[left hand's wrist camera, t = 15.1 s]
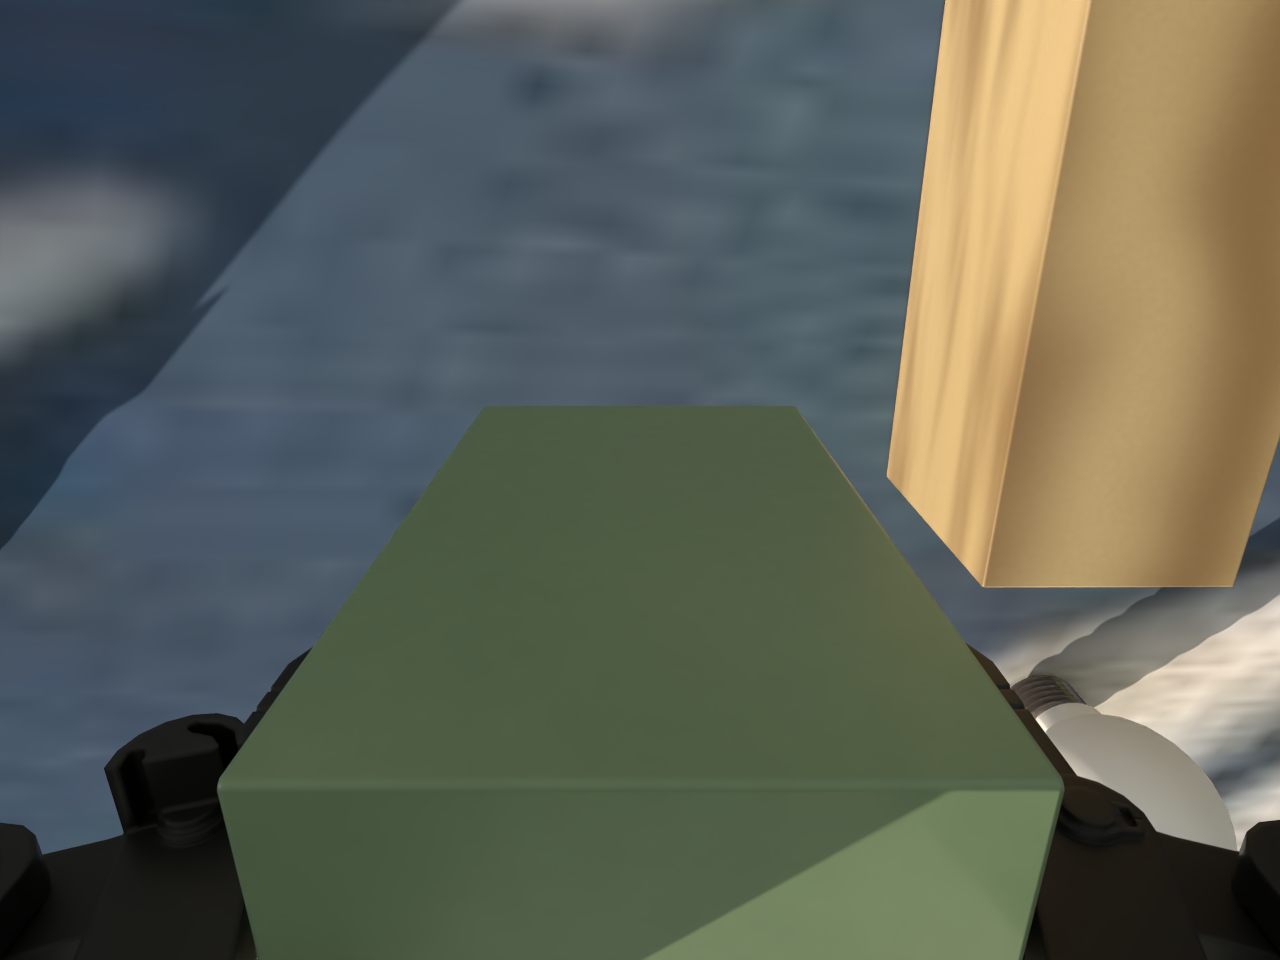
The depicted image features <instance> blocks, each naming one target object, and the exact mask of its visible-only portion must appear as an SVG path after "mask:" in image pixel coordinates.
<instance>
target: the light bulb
mask: <svg viewBox="0 0 1280 960" xmlns="http://www.w3.org/2000/svg"><path fill="white" fill-rule="evenodd" d="M1010 690H1014V691H1015V693H1016V694H1017V695H1018V697H1019V698H1020V699H1021V701H1022V702H1023V703H1024V708H1025V709H1028V710H1029V711H1030V713H1031V714H1032V715H1033V717H1034V718H1035V719H1036V721H1037V722H1038V723H1039V725H1040V726H1041V727H1042V729H1043V730H1044V731H1045V733H1046V734H1047V736H1048V737H1049V738H1050V740H1051V741H1052V742H1053V744H1054V745H1055V746H1056V748H1057V749H1058V750H1059V752H1060V753H1061V754H1062V756H1063V757H1064V758H1065V760H1066V761H1067V762H1068V764H1069V765H1070V766H1071V768H1072V769H1073V770H1074V772H1075V773H1076V774H1077V776H1080V777H1083V778H1087V779H1090V780H1093V781H1096V782H1099V783H1101V784H1103V785H1105V786H1107V787H1109V788H1111V789H1112V790H1114V791H1116V792H1118V793H1120V794H1122V795H1124V796H1125V797H1126V798H1127V799H1128V800H1130V801H1131V802H1132V803H1133V804H1134V805H1135V806H1137V807H1138V808H1139V809H1140V810H1141V811H1143V812H1144V813H1145V815H1146V816H1147V818H1148V819H1149V821H1150V823H1151V824H1152V826H1153V827H1154V829H1155V830H1156V831H1157V832H1161V833H1164V834H1167V835H1171V836H1174V837H1178V838H1182V839H1186V840H1191V841H1195V842H1199V843H1204V844H1208V845H1212V846H1217V847H1221V848H1225V849H1229V850H1234V851H1237V845H1236V836H1235V832H1234V828H1233V825H1232V822H1231V819H1230V816H1229V813H1228V810H1227V808H1226V806H1225V805H1224V803H1223V801H1222V799H1221V798H1220V796H1219V794H1218V792H1217V790H1216V789H1215V787H1214V785H1213V783H1212V782H1211V781H1210V779H1209V778H1208V777H1207V776H1206V774H1205V773H1204V772H1203V771H1202V770H1201V768H1200V767H1199V766H1198V765H1197V764H1196V763H1195V762H1194V761H1193V760H1192V759H1191V758H1190V757H1189V756H1188V755H1187V754H1186V753H1184V752H1183V751H1182V750H1181V749H1180V748H1179V747H1178V746H1176V745H1175V744H1174V743H1173V742H1171V741H1169V740H1168V739H1166V738H1164V737H1163V736H1161V735H1160V734H1158V733H1156V732H1155V731H1153V730H1151V729H1150V728H1148V727H1146V726H1143V725H1141V724H1138V723H1136V722H1133V721H1130V720H1127V719H1124V718H1121V717H1116V716H1110V715H1103V714H1101V713H1100V712H1099V711H1097V710H1096V709H1095V708H1093V707H1091V706H1089V705H1087V704H1086V703H1085V702H1084V701H1083V700H1082V698H1081V697H1080V696H1079V695H1078V694H1077V693H1076V692H1075V691H1074V689H1073V688H1072V687H1071V686H1070V685H1069V684H1068V683H1066V682H1065V681H1063V680H1061V679H1059V678H1056V677H1052V676H1034V677H1030V678H1027V679H1024V680H1022V681H1020V682H1018V683H1016V684H1015V685H1014V686H1012V687H1011V688H1010Z"/></svg>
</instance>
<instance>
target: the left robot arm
mask: <svg viewBox="0 0 1280 960" xmlns="http://www.w3.org/2000/svg"><path fill="white" fill-rule="evenodd" d="M966 645H967V646H968V648H969V649H970V650H971V652H972V653H973V655H974V656H975V657H976V659H977V660H978V662H979V663H980V664H981V666H982V667H983V668H984V670H985V671H986V673H987V674H988V675H989V677H990V678H991V680H992V681H993V682H994V684H995V685H996V687H997V688H998V689H999V691H1000V692H1001V694H1002V695H1003V696H1004V698H1005V699H1006V701H1007V702H1008V703H1009V705H1010V706H1011V708H1012V709H1013V710H1014V712H1015V713H1016V715H1017V716H1018V717H1019V719H1020V720H1021V721H1022V723H1023V724H1024V726H1025V727H1026V728H1027V730H1028V731H1029V733H1030V734H1031V735H1032V737H1033V738H1034V740H1035V741H1036V742H1037V744H1038V745H1039V747H1040V748H1041V749H1042V751H1043V752H1044V754H1045V755H1046V756H1047V758H1048V759H1049V761H1050V762H1051V763H1052V765H1053V766H1054V768H1055V769H1056V770H1057V772H1058V773H1059V774H1060V776H1061V777H1062V780H1063V783H1064V789H1065V791H1064V795H1063V799H1062V803H1061V807H1060V811H1059V815H1058V819H1057V823H1056V827H1055V831H1054V835H1053V839H1052V843H1051V847H1050V851H1049V855H1048V859H1047V863H1046V867H1045V871H1044V876H1043V880H1042V884H1041V888H1040V892H1039V896H1038V900H1037V904H1036V908H1035V912H1034V916H1033V920H1032V924H1031V928H1030V932H1029V936H1028V940H1027V944H1026V948H1025V952H1024V956H1023V960H1280V820H1275V821H1266V822H1259V823H1257V824H1256V825H1255V826H1254V827H1252V828H1251V829H1250V830H1248V831H1247V832H1246V835H1245V838H1244V841H1243V843H1242V846H1241V849H1240V851H1239V852H1238V851H1234V850H1229V849H1225V848H1221V847H1217V846H1212V845H1208V844H1204V843H1199V842H1195V841H1191V840H1186V839H1182V838H1178V837H1174V836H1171V835H1167V834H1164V833H1161V832H1157V831H1156V830H1155V829H1154V827H1153V826H1152V824H1151V823H1150V821H1149V819H1148V818H1147V816H1146V815H1145V813H1144V812H1143V811H1141V810H1140V809H1139V808H1138V807H1137V806H1135V805H1134V804H1133V803H1132V802H1131V801H1130V800H1128V799H1127V798H1126V797H1125V796H1124V795H1122V794H1120V793H1118V792H1116V791H1114V790H1112V789H1111V788H1109V787H1107V786H1105V785H1103V784H1101V783H1099V782H1096V781H1093V780H1090V779H1087V778H1083V777H1080V776H1077V774H1076V773H1075V772H1074V770H1073V769H1072V768H1071V766H1070V765H1069V764H1068V762H1067V761H1066V760H1065V758H1064V757H1063V756H1062V754H1061V753H1060V752H1059V750H1058V749H1057V748H1056V746H1055V745H1054V744H1053V742H1052V741H1051V740H1050V738H1049V737H1048V736H1047V734H1046V733H1045V731H1044V730H1043V729H1042V727H1041V726H1040V725H1039V723H1038V722H1037V721H1036V719H1035V718H1034V717H1033V715H1032V714H1031V713H1030V711H1029V710H1028V709H1025V708H1024V703H1023V702H1022V701H1021V699H1020V698H1019V697H1018V695H1017V694H1016V693H1015V691H1014V690H1010V684H1009V683H1008V682H1007V680H1006V679H1005V678H1004V676H1003V675H1002V674H1001V672H1000V671H999V670H998V668H997V667H996V666H995V664H994V663H993V662H992V661H991V660H989V659H988V658H987V657H985V656H984V655H982V654H981V653H979V652H978V651H977V650H975V649H974V648H972V647H971V646H969V645H968V644H966ZM312 648H313V647H312ZM312 648H311V649H312ZM311 649H309V650H308V651H306V652H305V653H304V654H302V655H301V656H299V657H298V658H296V659H295V660H294V661H292V662H291V663H289V664H288V665H287V667H286V668H285V669H284V671H283V672H282V673H281V675H280V676H279V678H278V679H277V680H276V682H275V683H274V684H273V686H272V687H271V692H267V694H266V695H265V696H264V698H263V699H262V701H261V702H260V703H259V705H258V706H257V711H256V712H253V713H252V714H251V715H250V717H249V718H248V719H247V721H246V722H245V724H244V723H242V722H241V721H240V720H239V719H238V718H236V717H232V716H227V715H223V714H218V713H214V714H199V715H191V716H187V717H183V718H180V719H176V720H172V721H168V722H165V723H163V724H161V725H159V726H157V727H154V728H152V729H150V730H148V731H146V732H144V733H142V734H140V735H138V736H137V737H135V738H134V739H133V740H131V741H130V742H129V743H127V744H126V745H125V746H123V747H122V748H121V749H119V750H118V751H117V752H116V753H115V755H114V756H113V757H112V759H111V760H110V761H109V762H108V764H107V765H106V766H105V768H104V770H105V773H106V776H107V780H108V783H109V786H110V789H111V792H112V796H113V799H114V802H115V805H116V809H117V812H118V815H119V818H120V821H121V825H122V828H123V831H124V833H123V835H121V836H117V837H114V838H111V839H107V840H103V841H99V842H95V843H91V844H86V845H82V846H78V847H73V848H69V849H65V850H61V851H56V852H52V853H48V854H44V855H42V852H41V850H40V847H39V844H38V841H37V839H36V836H35V835H34V834H33V833H32V832H31V831H29V830H28V829H27V828H26V827H24V826H23V825H15V824H6V823H0V960H259V958H258V954H257V950H256V946H255V942H254V938H253V934H252V930H251V926H250V922H249V918H248V914H247V910H246V906H245V902H244V898H243V894H242V890H241V886H240V882H239V878H238V874H237V869H236V865H235V861H234V857H233V853H232V849H231V845H230V841H229V837H228V833H227V829H226V825H225V821H224V817H223V813H222V809H221V805H220V801H219V797H218V793H217V786H218V782H219V778H220V777H221V775H222V774H223V773H224V771H225V770H226V768H227V767H228V765H229V764H230V763H231V761H232V760H233V758H234V757H235V756H236V754H237V753H238V751H239V750H240V749H241V747H242V746H243V744H244V743H245V742H246V740H247V739H248V737H249V736H250V735H251V733H252V732H253V730H254V729H255V728H256V726H257V725H258V723H259V722H260V721H261V719H262V718H263V716H264V715H265V714H266V712H267V711H268V709H269V708H270V707H271V705H272V704H273V702H274V701H275V700H276V698H277V697H278V695H279V694H280V693H281V691H282V690H283V688H284V687H285V686H286V684H287V683H288V681H289V680H290V679H291V677H292V676H293V674H294V673H295V672H296V670H297V669H298V667H299V666H300V665H301V663H302V662H303V660H304V659H305V658H306V656H307V655H308V653H309V652H310V651H311Z"/></svg>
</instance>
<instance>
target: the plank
mask: <svg viewBox="0 0 1280 960" xmlns="http://www.w3.org/2000/svg"><path fill="white" fill-rule="evenodd" d="M1279 439H1280V0H946V1H945V9H944V17H943V25H942V33H941V41H940V49H939V58H938V66H937V74H936V82H935V90H934V98H933V106H932V114H931V122H930V131H929V139H928V147H927V155H926V163H925V171H924V179H923V187H922V195H921V203H920V212H919V220H918V228H917V236H916V244H915V252H914V260H913V268H912V276H911V284H910V293H909V301H908V309H907V317H906V325H905V333H904V341H903V349H902V357H901V365H900V374H899V382H898V390H897V398H896V406H895V414H894V422H893V430H892V438H891V447H890V455H889V463H888V471H887V477H888V478H889V479H890V480H891V482H892V483H893V484H894V485H895V486H896V487H897V488H898V490H899V491H900V492H901V493H902V494H903V495H904V497H905V498H906V499H907V500H908V501H909V502H910V503H911V505H912V506H913V507H914V508H915V509H916V510H917V512H918V513H919V514H920V515H921V516H922V517H923V519H924V520H925V521H926V522H927V523H928V524H929V525H930V527H931V528H932V529H933V530H934V531H935V532H936V534H937V535H938V536H939V537H940V538H941V539H942V540H943V542H944V543H945V544H946V545H947V546H948V547H949V549H950V550H951V551H952V552H953V553H954V554H955V555H956V557H957V558H958V559H959V560H960V561H961V562H962V564H963V565H964V566H965V567H966V568H967V569H968V570H969V572H970V573H971V574H972V575H973V576H974V577H975V579H976V580H977V581H978V582H979V583H980V584H981V585H982V586H983V587H1232V586H1233V585H1234V583H1235V580H1236V576H1237V573H1238V570H1239V567H1240V564H1241V561H1242V557H1243V554H1244V551H1245V548H1246V545H1247V541H1248V538H1249V535H1250V532H1251V529H1252V525H1253V522H1254V519H1255V516H1256V513H1257V509H1258V506H1259V503H1260V500H1261V497H1262V494H1263V490H1264V487H1265V484H1266V481H1267V478H1268V474H1269V471H1270V468H1271V465H1272V462H1273V458H1274V455H1275V452H1276V449H1277V446H1278V442H1279Z"/></svg>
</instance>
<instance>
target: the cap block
mask: <svg viewBox="0 0 1280 960" xmlns="http://www.w3.org/2000/svg"><path fill="white" fill-rule="evenodd" d="M1064 791H1065V789H1064V783H1063V780H1062V777H1061V776H1060V774H1059V773H1058V772H1057V770H1056V769H1055V768H1054V766H1053V765H1052V763H1051V762H1050V761H1049V759H1048V758H1047V756H1046V755H1045V754H1044V752H1043V751H1042V749H1041V748H1040V747H1039V745H1038V744H1037V742H1036V741H1035V740H1034V738H1033V737H1032V735H1031V734H1030V733H1029V731H1028V730H1027V728H1026V727H1025V726H1024V724H1023V723H1022V721H1021V720H1020V719H1019V717H1018V716H1017V715H1016V713H1015V712H1014V710H1013V709H1012V708H1011V706H1010V705H1009V703H1008V702H1007V701H1006V699H1005V698H1004V696H1003V695H1002V694H1001V692H1000V691H999V689H998V688H997V687H996V685H995V684H994V682H993V681H992V680H991V678H990V677H989V675H988V674H987V673H986V671H985V670H984V668H983V667H982V666H981V664H980V663H979V662H978V660H977V659H976V657H975V656H974V655H973V653H972V652H971V650H970V649H969V648H968V646H967V645H966V643H965V642H964V641H963V639H962V638H961V636H960V635H959V634H958V632H957V631H956V629H955V628H954V627H953V625H952V624H951V622H950V621H949V620H948V618H947V617H946V615H945V614H944V613H943V611H942V610H941V608H940V607H939V606H938V604H937V603H936V602H935V600H934V599H933V597H932V596H931V595H930V593H929V592H928V590H927V589H926V588H925V586H924V585H923V583H922V582H921V581H920V579H919V578H918V576H917V575H916V574H915V572H914V571H913V569H912V568H911V567H910V565H909V564H908V562H907V561H906V560H905V558H904V557H903V555H902V554H901V553H900V551H899V550H898V549H897V547H896V546H895V544H894V543H893V542H892V540H891V539H890V537H889V536H888V535H887V533H886V532H885V530H884V529H883V528H882V526H881V525H880V523H879V522H878V521H877V519H876V518H875V516H874V515H873V514H872V512H871V511H870V509H869V508H868V507H867V505H866V504H865V502H864V501H863V500H862V498H861V497H860V495H859V494H858V493H857V491H856V490H855V489H854V487H853V486H852V484H851V483H850V482H849V480H848V479H847V477H846V476H845V475H844V473H843V472H842V470H841V469H840V468H839V466H838V465H837V463H836V462H835V461H834V459H833V458H832V456H831V455H830V454H829V452H828V451H827V449H826V448H825V447H824V445H823V444H822V442H821V441H820V440H819V438H818V437H817V436H816V434H815V433H814V431H813V430H812V429H811V427H810V426H809V424H808V423H807V422H806V420H805V419H804V417H803V416H802V415H801V413H800V412H799V410H798V409H797V408H796V407H794V406H486V407H484V408H483V409H482V411H481V412H480V414H479V415H478V416H477V418H476V419H475V421H474V422H473V423H472V425H471V426H470V428H469V429H468V431H467V432H466V433H465V435H464V436H463V438H462V439H461V440H460V442H459V443H458V445H457V446H456V447H455V449H454V450H453V452H452V453H451V454H450V456H449V457H448V459H447V460H446V461H445V463H444V464H443V466H442V467H441V468H440V470H439V471H438V473H437V474H436V475H435V477H434V478H433V480H432V481H431V482H430V484H429V485H428V487H427V488H426V489H425V491H424V492H423V494H422V495H421V496H420V498H419V499H418V501H417V502H416V503H415V505H414V506H413V508H412V509H411V510H410V512H409V513H408V515H407V516H406V517H405V519H404V520H403V522H402V523H401V524H400V526H399V527H398V529H397V530H396V531H395V533H394V534H393V536H392V537H391V538H390V540H389V541H388V543H387V544H386V545H385V547H384V548H383V550H382V551H381V552H380V554H379V555H378V557H377V558H376V559H375V561H374V562H373V564H372V565H371V566H370V568H369V569H368V571H367V572H366V573H365V575H364V576H363V578H362V579H361V580H360V582H359V583H358V585H357V586H356V587H355V589H354V590H353V592H352V593H351V594H350V596H349V597H348V599H347V600H346V602H345V603H344V604H343V606H342V607H341V609H340V610H339V611H338V613H337V614H336V616H335V617H334V618H333V620H332V621H331V623H330V624H329V625H328V627H327V628H326V630H325V631H324V632H323V634H322V635H321V637H320V638H319V639H318V641H317V642H316V644H315V645H314V646H313V648H312V649H311V651H310V652H309V653H308V655H307V656H306V658H305V659H304V660H303V662H302V663H301V665H300V666H299V667H298V669H297V670H296V672H295V673H294V674H293V676H292V677H291V679H290V680H289V681H288V683H287V684H286V686H285V687H284V688H283V690H282V691H281V693H280V694H279V695H278V697H277V698H276V700H275V701H274V702H273V704H272V705H271V707H270V708H269V709H268V711H267V712H266V714H265V715H264V716H263V718H262V719H261V721H260V722H259V723H258V725H257V726H256V728H255V729H254V730H253V732H252V733H251V735H250V736H249V737H248V739H247V740H246V742H245V743H244V744H243V746H242V747H241V749H240V750H239V751H238V753H237V754H236V756H235V757H234V758H233V760H232V761H231V763H230V764H229V765H228V767H227V768H226V770H225V771H224V773H223V774H222V775H221V777H220V778H219V782H218V786H217V793H218V797H219V801H220V805H221V809H222V813H223V817H224V821H225V825H226V829H227V833H228V837H229V841H230V845H231V849H232V853H233V857H234V861H235V865H236V869H237V874H238V878H239V882H240V886H241V890H242V894H243V898H244V902H245V906H246V910H247V914H248V918H249V922H250V926H251V930H252V934H253V938H254V942H255V946H256V950H257V954H258V958H259V960H1023V956H1024V952H1025V948H1026V944H1027V940H1028V936H1029V932H1030V928H1031V924H1032V920H1033V916H1034V912H1035V908H1036V904H1037V900H1038V896H1039V892H1040V888H1041V884H1042V880H1043V876H1044V871H1045V867H1046V863H1047V859H1048V855H1049V851H1050V847H1051V843H1052V839H1053V835H1054V831H1055V827H1056V823H1057V819H1058V815H1059V811H1060V807H1061V803H1062V799H1063V795H1064Z"/></svg>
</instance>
